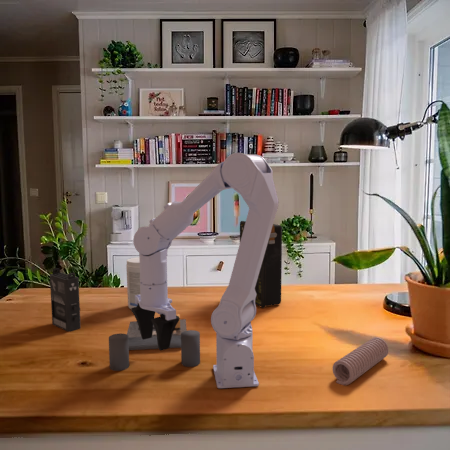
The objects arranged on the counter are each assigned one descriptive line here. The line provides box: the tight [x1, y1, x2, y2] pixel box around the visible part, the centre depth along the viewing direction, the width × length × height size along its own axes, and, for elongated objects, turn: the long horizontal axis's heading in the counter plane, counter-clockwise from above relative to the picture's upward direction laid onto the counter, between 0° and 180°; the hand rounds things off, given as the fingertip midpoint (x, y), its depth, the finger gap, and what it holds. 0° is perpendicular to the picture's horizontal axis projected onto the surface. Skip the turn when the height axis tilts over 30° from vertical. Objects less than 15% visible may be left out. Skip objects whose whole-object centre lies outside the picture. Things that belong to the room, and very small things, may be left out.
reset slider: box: [175, 313, 181, 328], centre depth 108 cm, size 3×3×2 cm
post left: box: [108, 333, 130, 372], centre depth 93 cm, size 4×4×6 cm
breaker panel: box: [126, 318, 188, 351], centre depth 108 cm, size 11×14×3 cm
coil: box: [332, 336, 389, 386], centre depth 92 cm, size 5×5×18 cm
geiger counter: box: [49, 267, 82, 332], centre depth 117 cm, size 10×4×15 cm, turn 48°
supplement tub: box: [125, 256, 140, 310], centre depth 133 cm, size 10×10×15 cm
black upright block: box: [239, 220, 283, 309], centre depth 139 cm, size 16×9×25 cm, turn 25°
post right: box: [180, 329, 201, 368], centre depth 95 cm, size 4×4×6 cm
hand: (155, 343), depth 96 cm, fingers open, 7 cm apart
